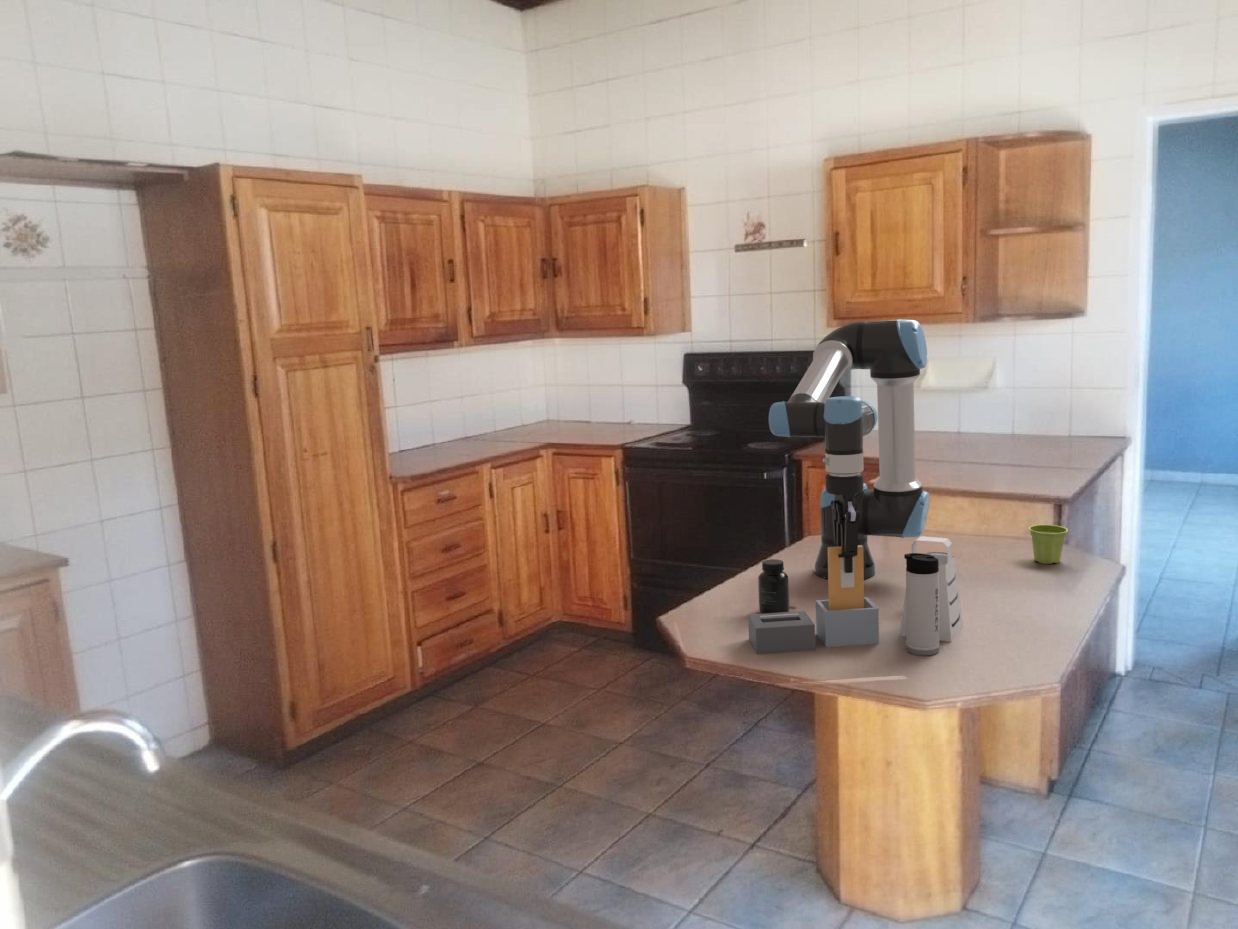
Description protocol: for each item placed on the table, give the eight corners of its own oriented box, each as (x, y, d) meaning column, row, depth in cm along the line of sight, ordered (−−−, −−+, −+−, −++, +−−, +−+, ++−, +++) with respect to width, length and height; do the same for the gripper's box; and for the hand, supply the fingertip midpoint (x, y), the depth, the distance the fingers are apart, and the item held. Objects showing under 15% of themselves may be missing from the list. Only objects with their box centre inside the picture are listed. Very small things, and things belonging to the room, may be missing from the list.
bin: (816, 636, 207) (815, 600, 206) (867, 633, 208) (867, 597, 206) (825, 649, 199) (825, 612, 198) (879, 646, 200) (878, 608, 198)
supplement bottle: (771, 605, 230) (769, 556, 228) (795, 611, 225) (793, 560, 223) (753, 613, 225) (751, 562, 223) (777, 619, 220) (775, 567, 218)
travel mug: (900, 646, 199) (899, 551, 195) (931, 644, 199) (931, 549, 196) (911, 657, 193) (911, 559, 189) (944, 654, 193) (944, 556, 190)
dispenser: (756, 656, 197) (755, 626, 196) (749, 641, 206) (748, 612, 205) (815, 653, 198) (814, 622, 197) (805, 638, 207) (804, 608, 206)
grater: (951, 642, 200) (951, 547, 197) (900, 635, 205) (899, 543, 202) (963, 626, 209) (963, 535, 205) (913, 620, 214) (913, 531, 211)
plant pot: (1069, 558, 255) (1070, 526, 254) (1064, 567, 247) (1064, 534, 246) (1031, 555, 260) (1032, 523, 259) (1024, 563, 252) (1025, 531, 251)
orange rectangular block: (830, 619, 202) (829, 548, 199) (828, 617, 203) (827, 547, 201) (864, 617, 202) (863, 546, 199) (862, 615, 203) (861, 545, 201)
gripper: (817, 468, 205) (819, 577, 208) (835, 480, 190) (837, 596, 194) (852, 466, 205) (854, 575, 209) (873, 478, 191) (874, 594, 194)
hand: (846, 585), depth 201 cm, fingers closed on orange rectangular block, 1 cm apart
